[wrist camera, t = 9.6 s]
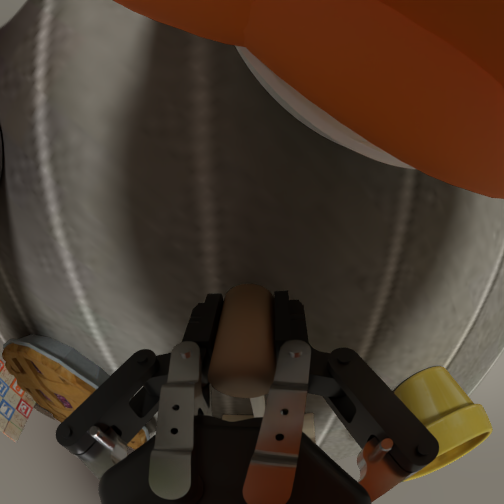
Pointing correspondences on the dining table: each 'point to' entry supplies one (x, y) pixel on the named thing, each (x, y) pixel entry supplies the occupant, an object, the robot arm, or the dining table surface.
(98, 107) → the dining table surface
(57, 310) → the dining table surface
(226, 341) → the pull block
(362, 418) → the robot arm
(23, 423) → the stack of blocks
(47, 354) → the pie
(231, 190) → the dining table surface
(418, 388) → the plant pot
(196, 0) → the potted cactus
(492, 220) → the dining table surface
